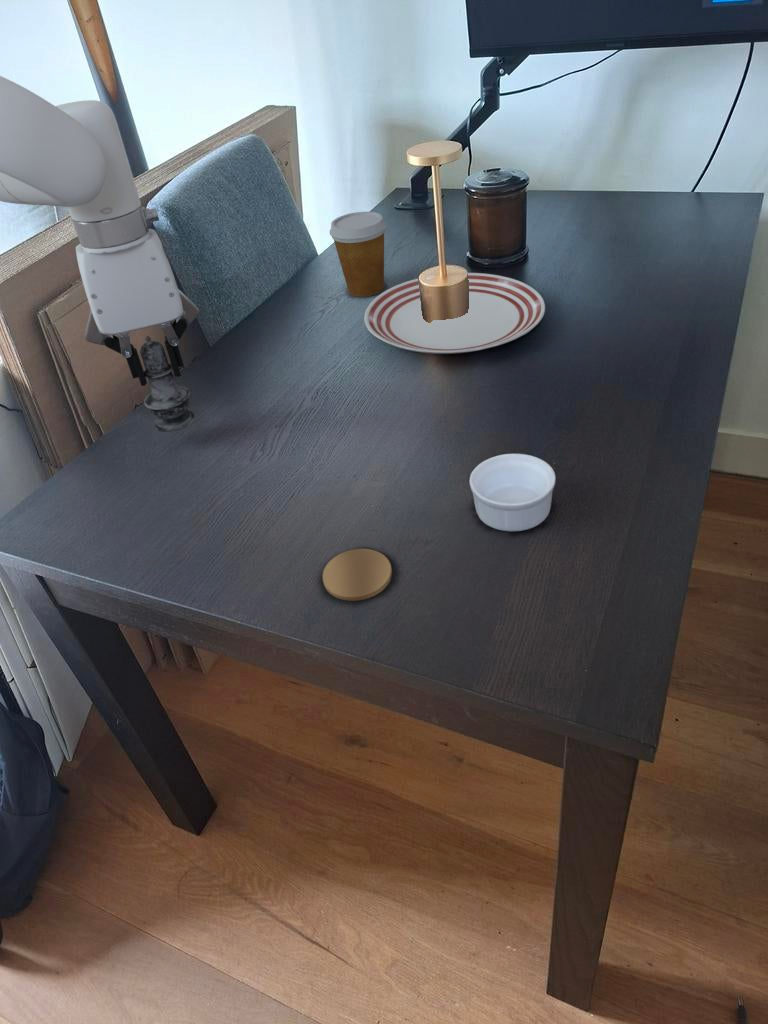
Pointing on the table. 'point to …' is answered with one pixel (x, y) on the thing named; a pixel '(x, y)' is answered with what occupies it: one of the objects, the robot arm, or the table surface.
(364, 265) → the disposable coffee cup
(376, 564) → the coaster
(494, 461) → the ramekin
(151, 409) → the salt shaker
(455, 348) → the dinner plate
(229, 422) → the table surface
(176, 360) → the robot arm
